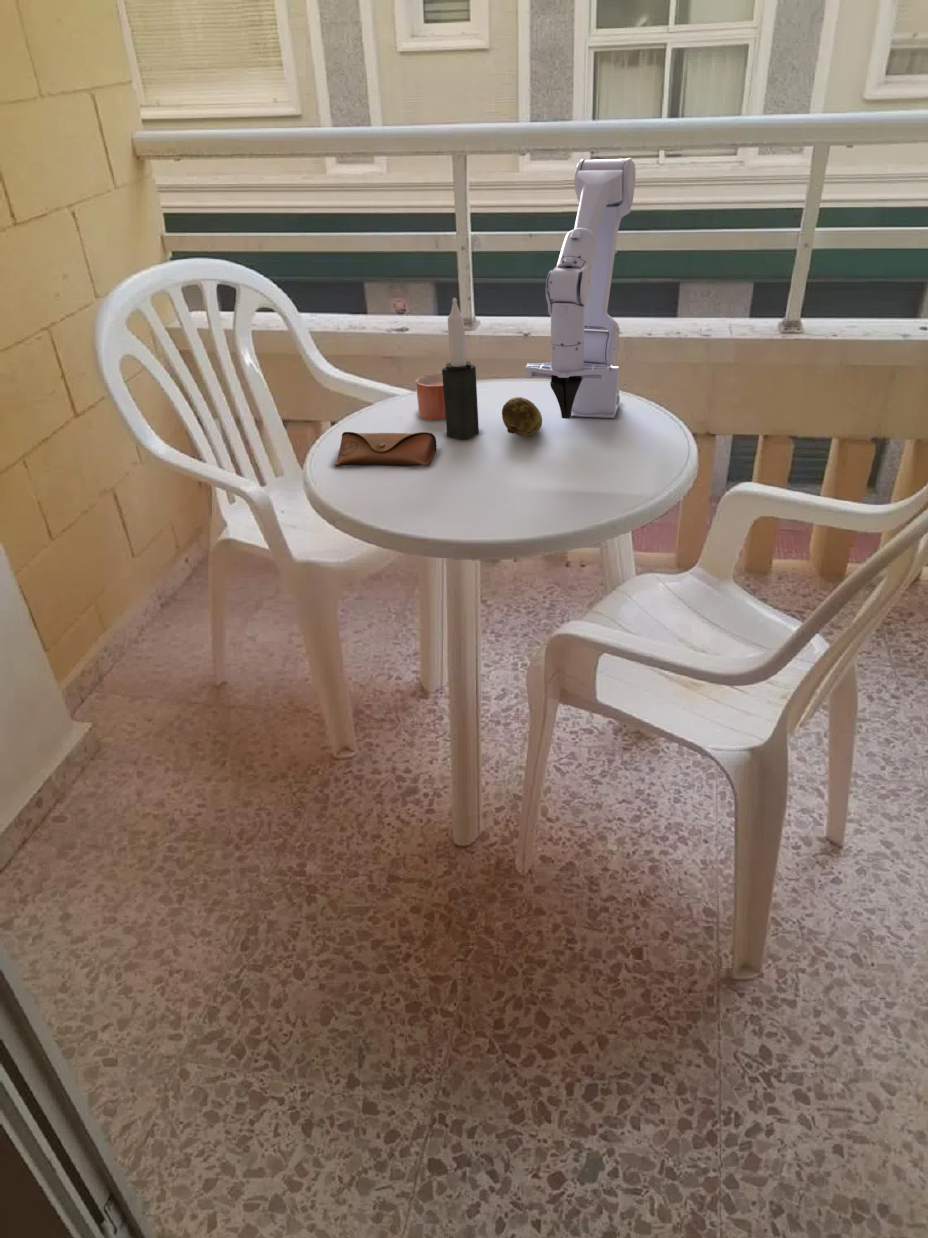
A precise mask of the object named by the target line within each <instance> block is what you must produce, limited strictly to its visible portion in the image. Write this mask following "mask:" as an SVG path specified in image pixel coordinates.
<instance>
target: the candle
mask: <svg viewBox="0 0 928 1238" xmlns="http://www.w3.org/2000/svg"><path fill="white" fill-rule="evenodd" d="M451 301H452V304H451V308H450V309H451V310H450V313H449V315H448V317H447V331H448V347H449V348H448V349H449V360H450V361H449V362H446V364H445V367H443V368H442V369H441V373H442V377H443V390H444V404H445V417H446V419H445V428H446V429H445V431H446V436H447V437H448V438H451V439H457V440H459V441H460V440H461V441H466V440H469V439H470V438H472V437H474V436H475V435H479V433H480V429H479V428H480V427H479V425H480V424H479V412H478V411H479V409H478V408H479V407H478V406H479V405H478V389H477V367H476V366H475V365H474V364H472V363H471V361H469V360H467V350H466V331H465V330H466V329H465V318H464V315H463V314H462V313H461V311H460V308H459V305H458V299H457V298H456V297H453V298H452V300H451Z"/></svg>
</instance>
